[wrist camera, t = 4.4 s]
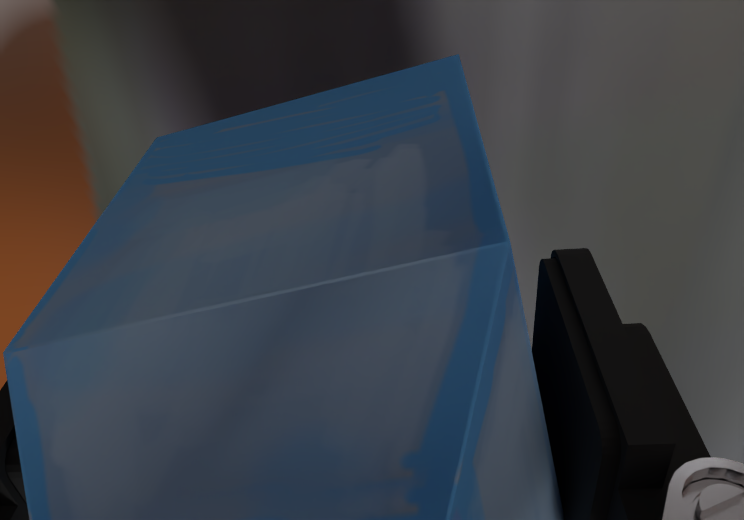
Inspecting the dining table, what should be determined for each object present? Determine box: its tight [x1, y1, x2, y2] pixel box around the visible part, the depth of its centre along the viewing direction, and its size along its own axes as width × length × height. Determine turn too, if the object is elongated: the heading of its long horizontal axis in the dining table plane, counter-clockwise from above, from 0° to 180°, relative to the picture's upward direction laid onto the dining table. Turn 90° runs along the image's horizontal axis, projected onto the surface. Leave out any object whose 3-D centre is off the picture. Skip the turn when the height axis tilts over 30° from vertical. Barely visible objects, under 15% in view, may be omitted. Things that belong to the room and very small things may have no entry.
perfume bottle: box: [3, 54, 564, 520], centre depth 9 cm, size 6×6×12 cm
